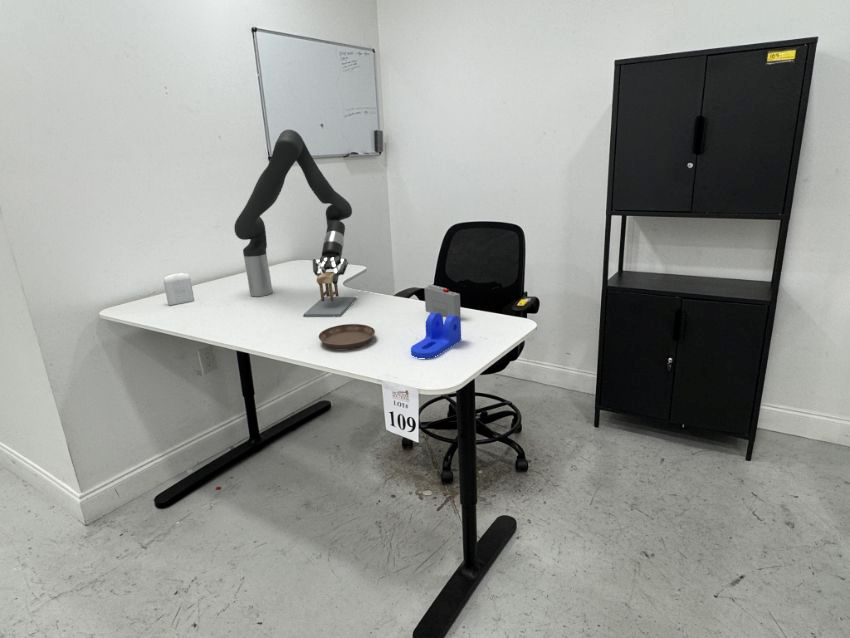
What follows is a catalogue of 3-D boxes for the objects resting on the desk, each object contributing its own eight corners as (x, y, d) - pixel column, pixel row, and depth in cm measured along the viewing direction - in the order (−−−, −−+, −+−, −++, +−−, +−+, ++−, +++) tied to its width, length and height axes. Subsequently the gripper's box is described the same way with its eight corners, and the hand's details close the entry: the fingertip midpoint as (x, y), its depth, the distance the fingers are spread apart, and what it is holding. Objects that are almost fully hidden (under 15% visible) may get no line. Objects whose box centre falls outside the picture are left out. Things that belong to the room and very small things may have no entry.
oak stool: (320, 301, 196) (316, 277, 193) (327, 295, 204) (324, 272, 201) (333, 301, 195) (330, 277, 192) (339, 295, 203) (337, 271, 200)
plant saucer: (387, 340, 165) (386, 331, 164) (339, 357, 154) (338, 348, 153) (355, 328, 178) (354, 320, 177) (309, 343, 167) (308, 334, 166)
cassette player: (460, 318, 181) (459, 291, 177) (454, 320, 179) (453, 292, 176) (431, 309, 192) (430, 283, 189) (425, 311, 191) (424, 285, 187)
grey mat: (323, 299, 212) (323, 297, 212) (356, 299, 210) (356, 296, 210) (303, 316, 192) (303, 314, 191) (340, 316, 190) (339, 314, 189)
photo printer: (193, 299, 224) (187, 270, 220) (195, 301, 220) (189, 272, 216) (167, 304, 218) (161, 275, 214) (169, 306, 215) (162, 277, 211)
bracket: (438, 336, 166) (437, 309, 163) (461, 340, 161) (460, 313, 158) (405, 356, 152) (403, 327, 149) (429, 361, 147) (428, 332, 144)
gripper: (312, 240, 201) (304, 279, 194) (348, 239, 199) (342, 278, 191) (318, 251, 208) (311, 289, 200) (353, 250, 205) (347, 288, 198)
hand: (326, 283), depth 196 cm, fingers closed on oak stool, 5 cm apart
